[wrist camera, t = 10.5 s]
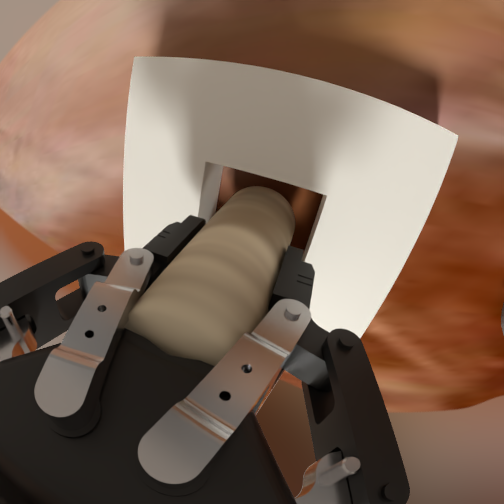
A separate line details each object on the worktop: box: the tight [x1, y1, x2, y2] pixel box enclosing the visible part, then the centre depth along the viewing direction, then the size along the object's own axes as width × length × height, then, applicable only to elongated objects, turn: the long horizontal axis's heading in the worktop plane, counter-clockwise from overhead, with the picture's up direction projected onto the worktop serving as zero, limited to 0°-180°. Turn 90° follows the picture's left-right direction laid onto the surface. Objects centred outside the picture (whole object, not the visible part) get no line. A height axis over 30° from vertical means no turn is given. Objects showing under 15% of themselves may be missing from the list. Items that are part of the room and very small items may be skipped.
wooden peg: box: [124, 186, 295, 366], centre depth 12 cm, size 4×4×10 cm
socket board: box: [123, 57, 459, 338], centre depth 16 cm, size 16×16×3 cm
